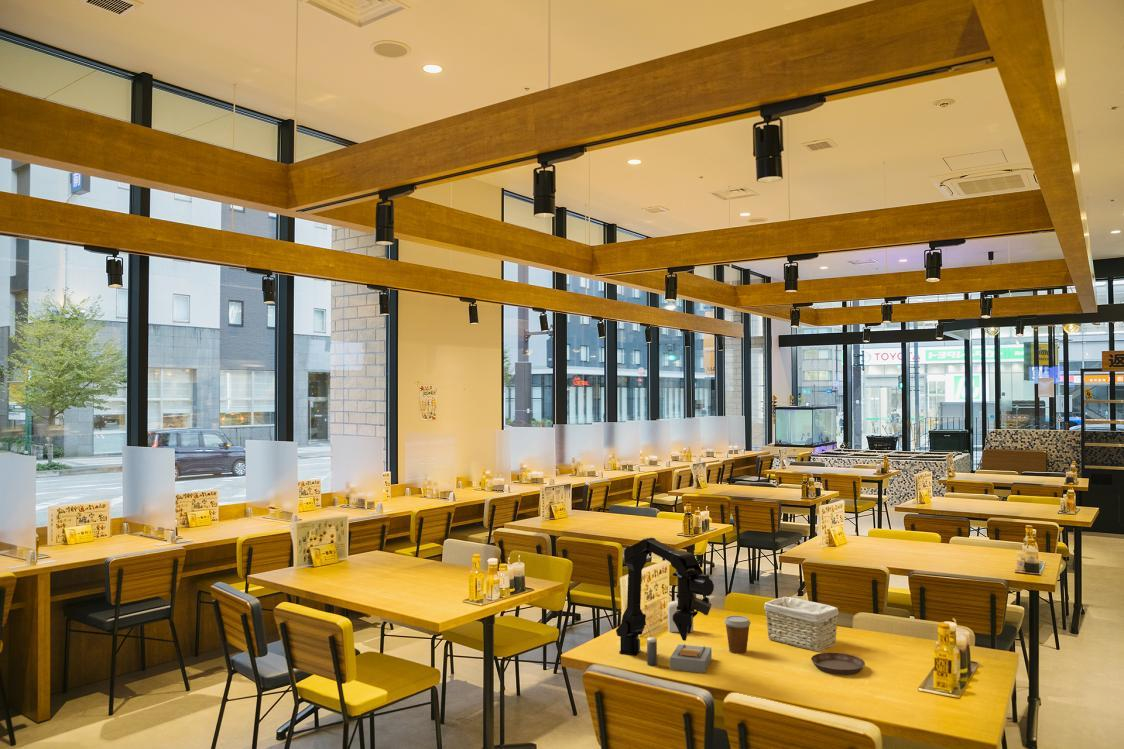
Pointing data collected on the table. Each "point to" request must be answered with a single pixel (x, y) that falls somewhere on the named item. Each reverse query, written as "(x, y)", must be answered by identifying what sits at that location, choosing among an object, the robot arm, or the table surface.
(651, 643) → the grey cylinder
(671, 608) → the photo printer
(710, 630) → the table surface
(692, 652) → the shutter
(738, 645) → the disposable coffee cup
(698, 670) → the socket
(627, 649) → the robot arm
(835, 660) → the plant saucer
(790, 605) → the storage basket
